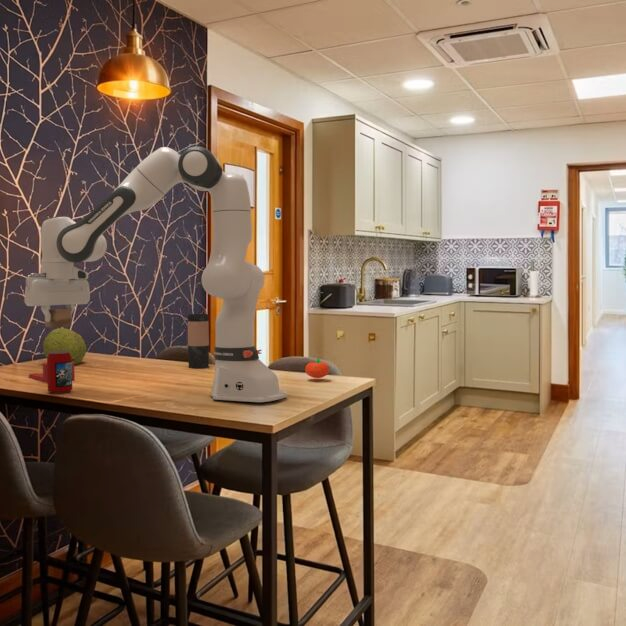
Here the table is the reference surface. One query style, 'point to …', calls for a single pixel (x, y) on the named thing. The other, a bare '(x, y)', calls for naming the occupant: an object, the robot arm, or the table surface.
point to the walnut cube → (60, 318)
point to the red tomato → (317, 369)
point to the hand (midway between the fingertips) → (58, 321)
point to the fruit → (65, 343)
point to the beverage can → (59, 371)
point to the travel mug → (198, 341)
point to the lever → (43, 375)
